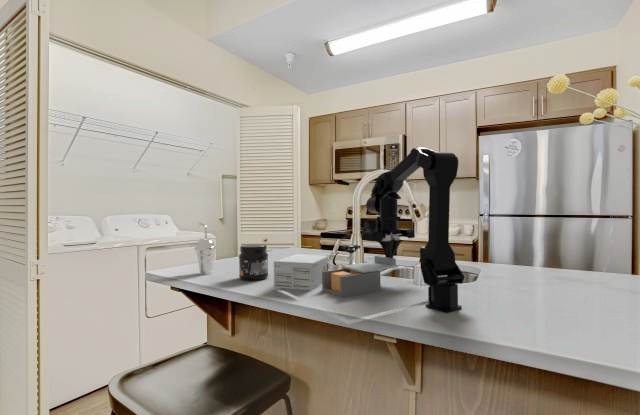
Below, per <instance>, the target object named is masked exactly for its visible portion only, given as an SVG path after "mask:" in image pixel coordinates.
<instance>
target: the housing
mask: <svg viewBox="0 0 640 415" xmlns="http://www.w3.org/2000/svg"><path fill="white" fill-rule="evenodd" d="M342 271H344V272H347V273H350V269H345V268H339V269H330V270H329V269H328V271H322V284H321V290H322V291H323V292H324V293H325V292H326V293H328V294H330V295H334V296H336V297H339V298H342V299H344V298H348V297H353V296H354V297H355V296H357V295H363V294H369V293H373V292H379V291H381V290H382V289H381V287H382V286H381V270H378V271H371V272H366V273H360V274H353V275H347V276H341V277H340V293H339V292H336V291H333V290H331V273H335V272H342Z"/></svg>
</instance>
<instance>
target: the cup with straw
mask: <svg viewBox="0 0 640 415" xmlns="http://www.w3.org/2000/svg"><path fill="white" fill-rule="evenodd" d="M198 224H199V225H200V226H201V227H202V226H203V227H204V238H202V239H200V240H199V241H198V242H197V243H196V246H195V247H194V249H193V250H194V251H196V256H197V260H198V269H199V275H202V274H206V275H211V274H213V272H212V271H213V269H214V268H213V266H214V257H215V252H216V250H217V246H216V245H215V242H214V241H213V240H212V239H210V238H208V234H207V233H208V227H207V224H204V223H201V222H198ZM210 273H211V274H210Z"/></svg>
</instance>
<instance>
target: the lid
mask: <svg viewBox="0 0 640 415" xmlns="http://www.w3.org/2000/svg"><path fill="white" fill-rule="evenodd" d="M396 260H397V259H396V258H395V257H393V258H389V257H386V256H382V255H374V261H369V262H368V261H365V262H360V263H355V264H351V265H347V264H344V265H342V266H341V269H343V268H345V269H350V270H354V271H358V272H362V273H365V272H372V271H383V270H389V269H396V268H399V265H398V264H397V263H396V262H397V261H396Z"/></svg>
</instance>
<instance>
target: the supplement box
mask: <svg viewBox="0 0 640 415" xmlns="http://www.w3.org/2000/svg"><path fill="white" fill-rule="evenodd" d="M322 271H329V255H322V254H320V255H319V254H299V253H298V254H293V255H290V256H286V257H284V258H281V259H278V260H274V261H273V290H274V291H285V290H286V289H287V290H297V291H298V290H301V291H313V290H314V289H316V288H317V287H319V286H320V285H321V286H322Z"/></svg>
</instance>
